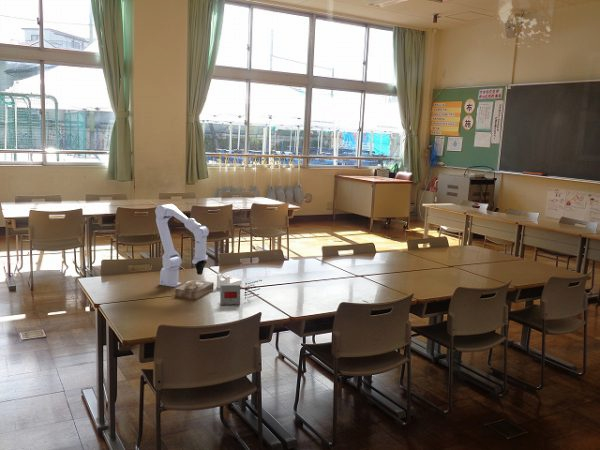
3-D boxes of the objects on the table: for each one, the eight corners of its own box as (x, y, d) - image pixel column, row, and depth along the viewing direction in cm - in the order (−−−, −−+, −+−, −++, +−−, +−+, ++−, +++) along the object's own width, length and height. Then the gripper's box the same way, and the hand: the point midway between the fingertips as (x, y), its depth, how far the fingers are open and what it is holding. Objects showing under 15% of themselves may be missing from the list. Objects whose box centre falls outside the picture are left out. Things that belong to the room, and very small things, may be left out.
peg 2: (193, 290, 297) (194, 283, 296) (197, 288, 301) (197, 281, 300) (200, 291, 296) (201, 284, 295) (204, 289, 300) (204, 282, 299)
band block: (175, 296, 286) (175, 288, 285) (193, 286, 305) (193, 279, 304) (196, 299, 282) (196, 291, 282) (213, 289, 302) (213, 282, 301)
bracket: (226, 290, 303) (227, 277, 302) (216, 287, 306) (217, 274, 305) (241, 285, 314) (242, 272, 312) (231, 283, 317) (232, 270, 316)
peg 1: (185, 289, 287) (185, 282, 286) (188, 287, 291) (189, 280, 290) (192, 290, 286) (192, 283, 285) (195, 288, 290) (196, 281, 289)
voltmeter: (229, 308, 272) (230, 289, 270) (212, 303, 279) (213, 284, 277) (265, 298, 293) (266, 280, 291) (248, 293, 300) (249, 275, 298)
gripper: (201, 252, 287) (200, 278, 289) (213, 247, 300) (212, 272, 303) (189, 251, 288) (188, 276, 291) (201, 246, 302) (200, 270, 304)
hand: (199, 274), depth 297 cm, fingers closed
